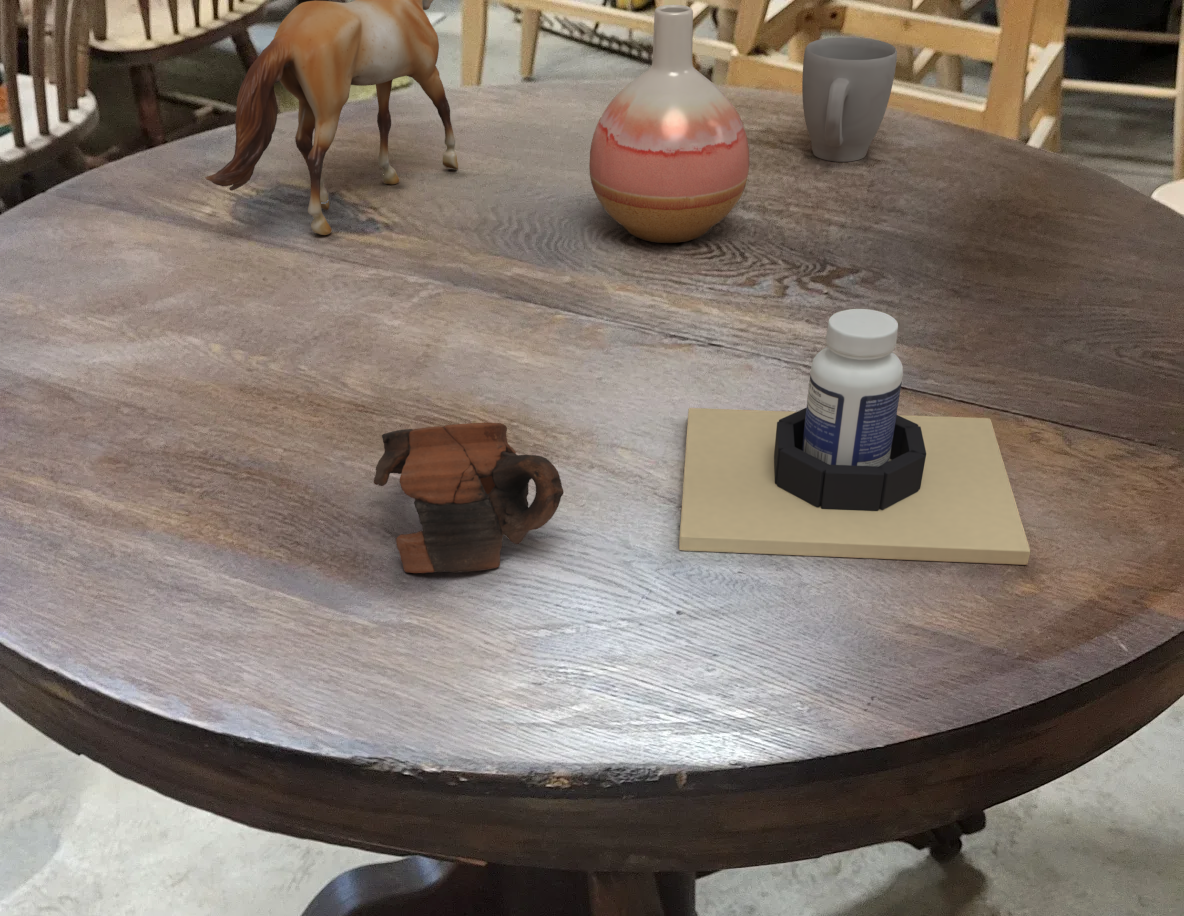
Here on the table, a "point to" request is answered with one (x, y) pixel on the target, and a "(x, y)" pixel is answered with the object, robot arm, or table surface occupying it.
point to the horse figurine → (335, 83)
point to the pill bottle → (854, 390)
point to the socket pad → (848, 492)
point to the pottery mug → (466, 494)
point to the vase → (669, 144)
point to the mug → (846, 94)
